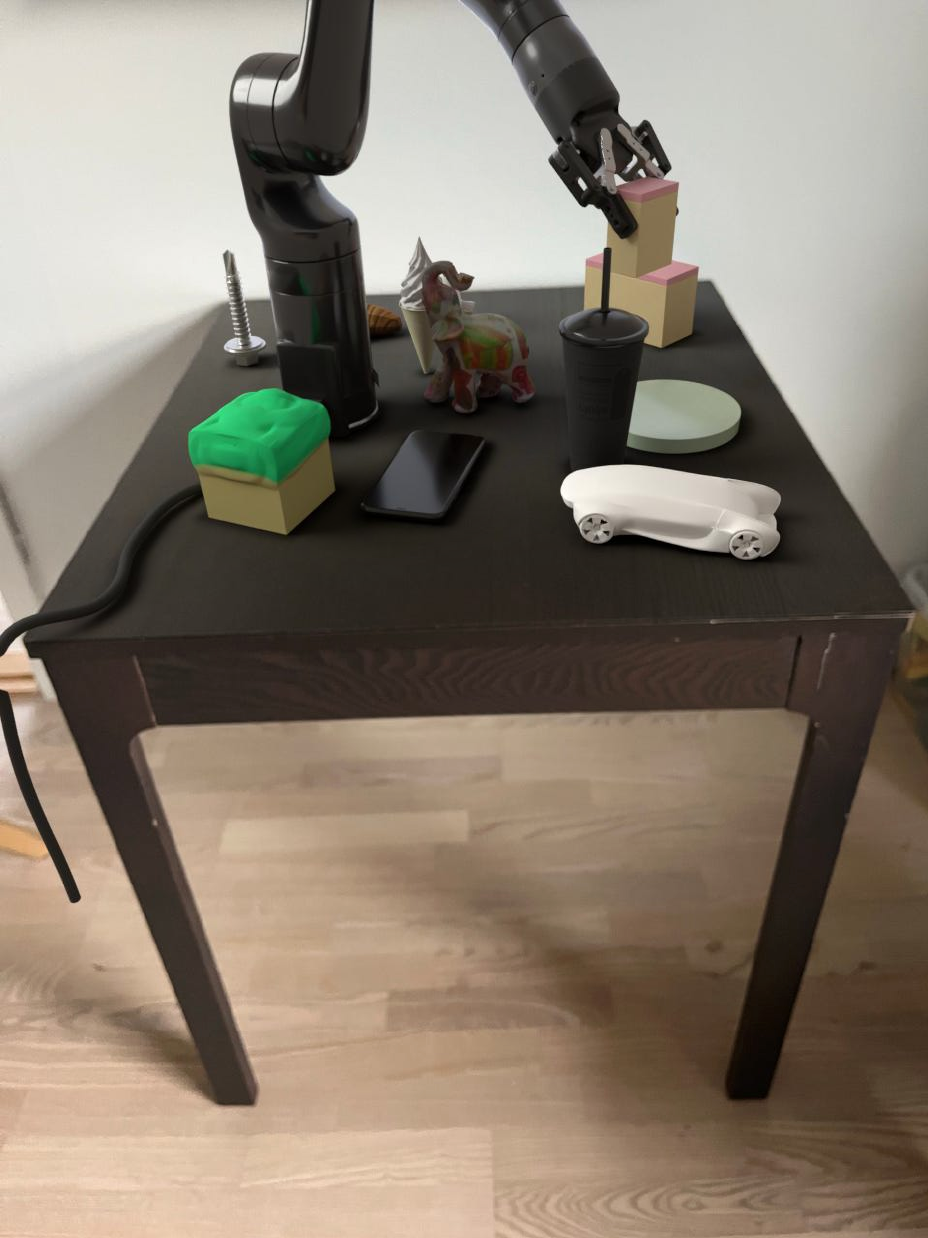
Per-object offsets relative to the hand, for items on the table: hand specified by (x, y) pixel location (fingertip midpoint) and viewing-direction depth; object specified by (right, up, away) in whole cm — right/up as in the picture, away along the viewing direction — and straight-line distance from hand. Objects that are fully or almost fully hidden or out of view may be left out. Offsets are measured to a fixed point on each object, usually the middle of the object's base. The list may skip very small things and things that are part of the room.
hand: (651, 225), depth 97 cm
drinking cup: (-6, -25, -6) cm, 27 cm away
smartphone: (-22, -26, -7) cm, 35 cm away
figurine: (-17, -17, +6) cm, 25 cm away
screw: (-44, -9, +18) cm, 49 cm away
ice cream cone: (-23, -12, +13) cm, 29 cm away
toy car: (-2, -32, -15) cm, 35 cm away
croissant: (-33, -4, +24) cm, 41 cm away
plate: (+2, -19, +1) cm, 19 cm away
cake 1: (-36, -29, -9) cm, 47 cm away
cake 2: (+2, -4, +21) cm, 22 cm away
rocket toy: (-21, -3, +24) cm, 32 cm away
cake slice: (-1, -3, +3) cm, 4 cm away
